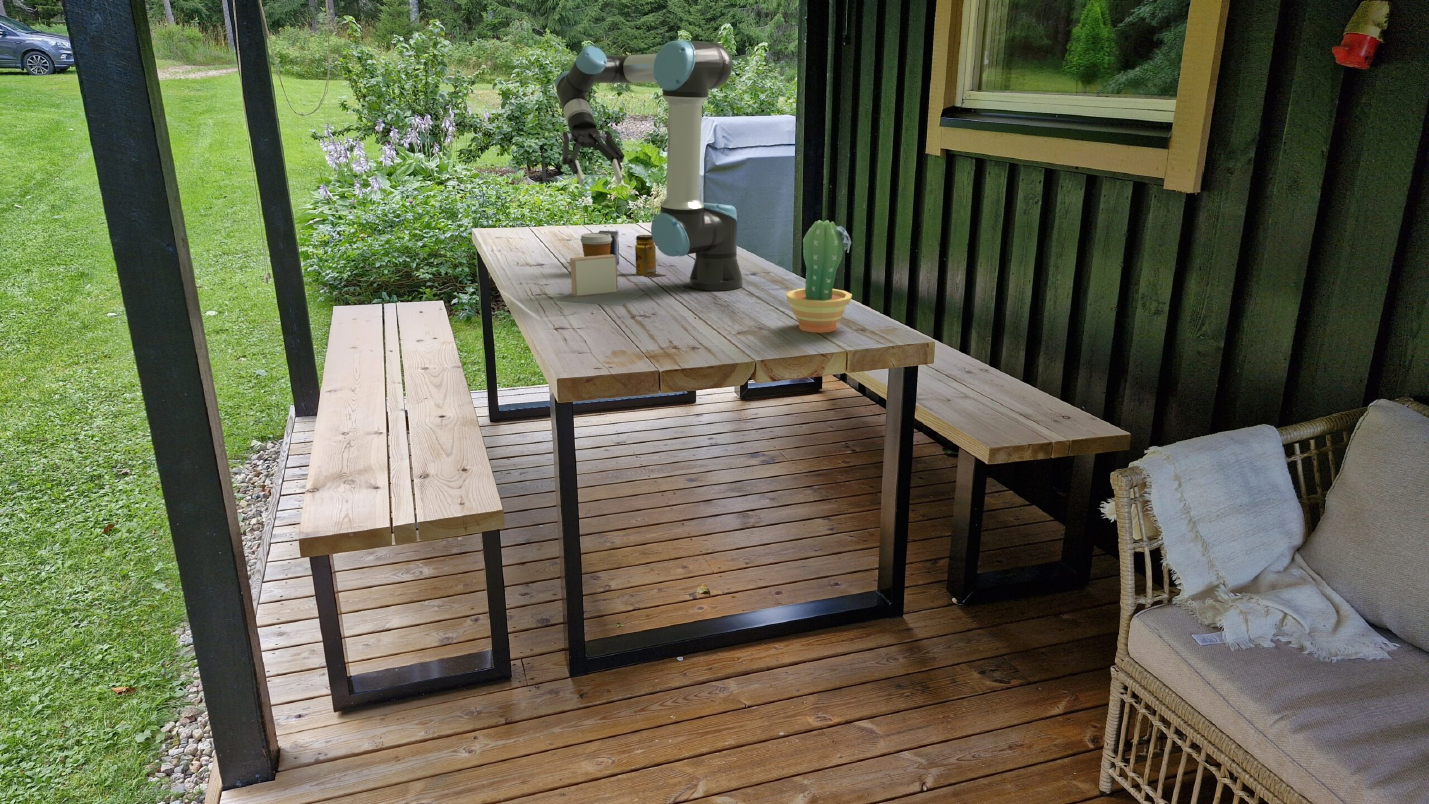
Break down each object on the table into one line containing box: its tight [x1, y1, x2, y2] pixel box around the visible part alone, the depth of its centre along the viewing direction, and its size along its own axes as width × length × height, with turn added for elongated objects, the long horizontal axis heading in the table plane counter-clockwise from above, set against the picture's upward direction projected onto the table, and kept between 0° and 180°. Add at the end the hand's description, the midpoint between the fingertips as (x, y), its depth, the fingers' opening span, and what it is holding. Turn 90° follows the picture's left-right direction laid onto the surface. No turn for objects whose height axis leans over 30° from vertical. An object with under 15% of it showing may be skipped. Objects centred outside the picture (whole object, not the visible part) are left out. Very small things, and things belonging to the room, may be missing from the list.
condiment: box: [633, 234, 666, 279], centre depth 276 cm, size 7×8×12 cm
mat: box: [554, 289, 647, 307], centre depth 247 cm, size 19×17×1 cm
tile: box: [569, 254, 619, 297], centre depth 249 cm, size 3×12×10 cm, turn 117°
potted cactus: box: [785, 219, 853, 334], centre depth 214 cm, size 16×15×25 cm
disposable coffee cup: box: [579, 232, 612, 257], centre depth 276 cm, size 10×10×12 cm
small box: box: [597, 230, 620, 266], centre depth 290 cm, size 11×6×10 cm, turn 179°
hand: (601, 181), depth 253 cm, fingers open, 10 cm apart
